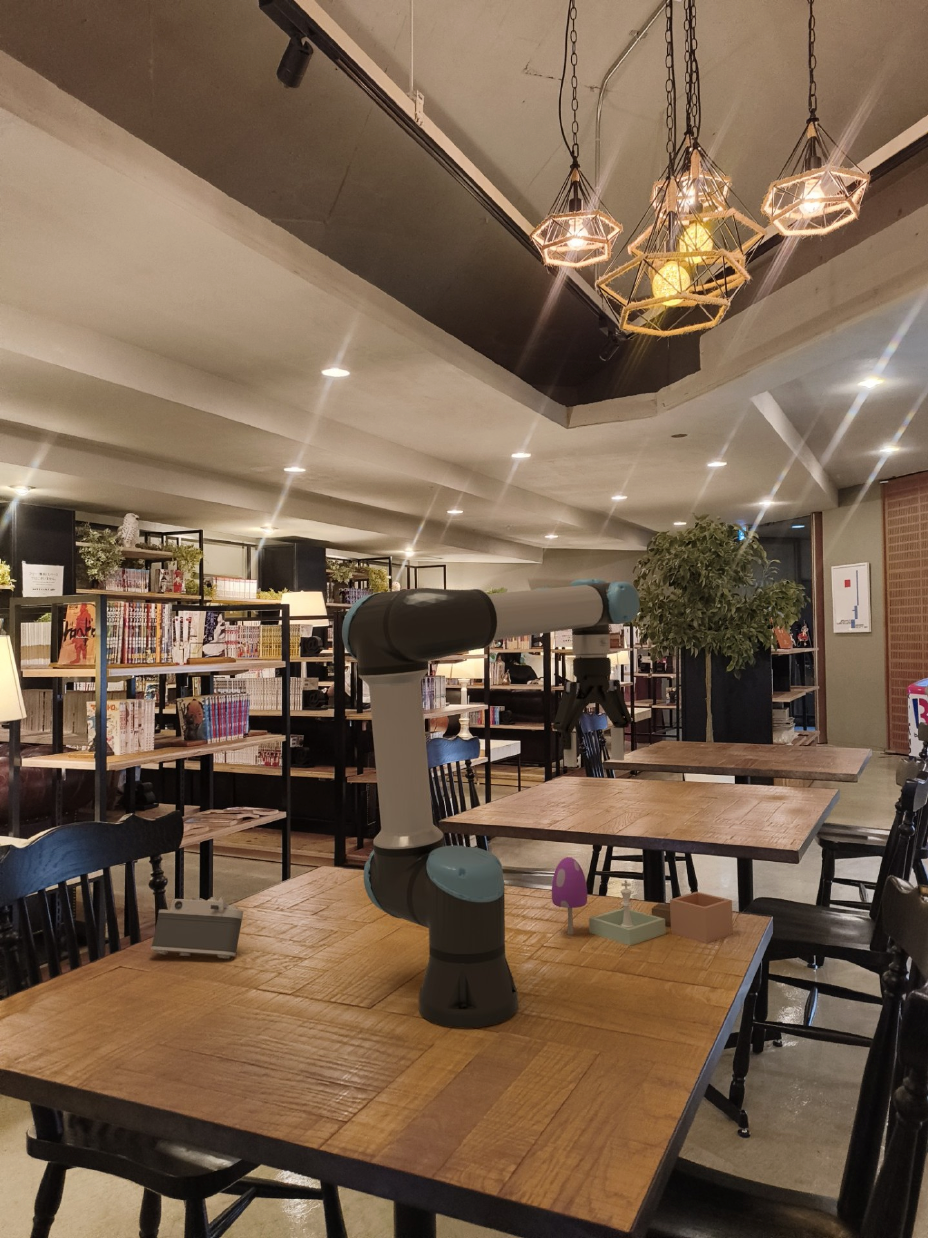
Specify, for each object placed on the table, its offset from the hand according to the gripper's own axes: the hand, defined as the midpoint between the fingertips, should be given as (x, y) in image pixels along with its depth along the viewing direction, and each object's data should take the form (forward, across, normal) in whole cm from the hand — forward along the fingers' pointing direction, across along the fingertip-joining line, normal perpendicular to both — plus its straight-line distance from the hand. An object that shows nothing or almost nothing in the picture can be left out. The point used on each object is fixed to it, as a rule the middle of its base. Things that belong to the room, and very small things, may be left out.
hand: (594, 763), depth 174 cm
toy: (+32, -10, -2) cm, 33 cm away
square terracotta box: (+32, +8, -18) cm, 38 cm away
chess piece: (+31, -2, -9) cm, 33 cm away
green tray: (+32, -2, -9) cm, 33 cm away
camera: (+32, -66, +38) cm, 83 cm away
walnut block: (+32, +8, -10) cm, 34 cm away
